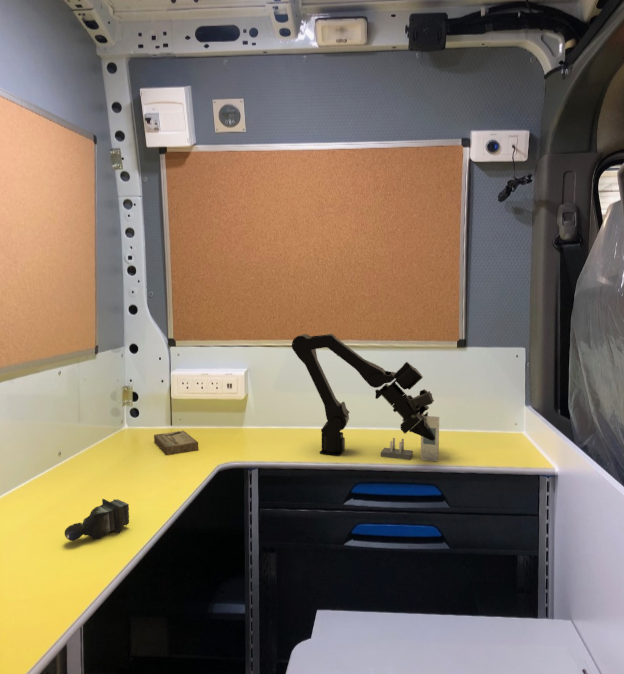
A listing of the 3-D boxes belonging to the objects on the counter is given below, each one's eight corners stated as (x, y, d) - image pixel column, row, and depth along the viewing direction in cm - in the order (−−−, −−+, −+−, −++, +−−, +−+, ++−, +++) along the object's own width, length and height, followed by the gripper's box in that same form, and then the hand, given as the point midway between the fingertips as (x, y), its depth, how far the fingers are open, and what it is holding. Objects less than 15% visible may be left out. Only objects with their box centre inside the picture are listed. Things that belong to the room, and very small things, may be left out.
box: (166, 456, 169) (165, 447, 168) (153, 443, 184) (153, 434, 183) (199, 451, 174) (199, 441, 173) (184, 438, 189) (184, 429, 189)
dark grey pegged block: (380, 456, 166) (380, 440, 166) (384, 452, 171) (384, 436, 170) (409, 459, 163) (410, 443, 163) (412, 455, 168) (412, 439, 167)
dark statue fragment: (60, 544, 111) (58, 514, 110) (114, 521, 121) (113, 494, 121) (78, 552, 107) (76, 522, 106) (132, 528, 118) (131, 500, 117)
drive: (420, 459, 163) (421, 417, 162) (421, 457, 166) (422, 415, 165) (437, 461, 162) (438, 418, 161) (438, 459, 164) (439, 417, 163)
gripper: (412, 388, 154) (451, 429, 151) (422, 377, 172) (457, 414, 169) (384, 413, 158) (422, 453, 155) (397, 400, 175) (431, 436, 172)
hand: (434, 438), depth 163 cm, fingers closed on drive, 3 cm apart
